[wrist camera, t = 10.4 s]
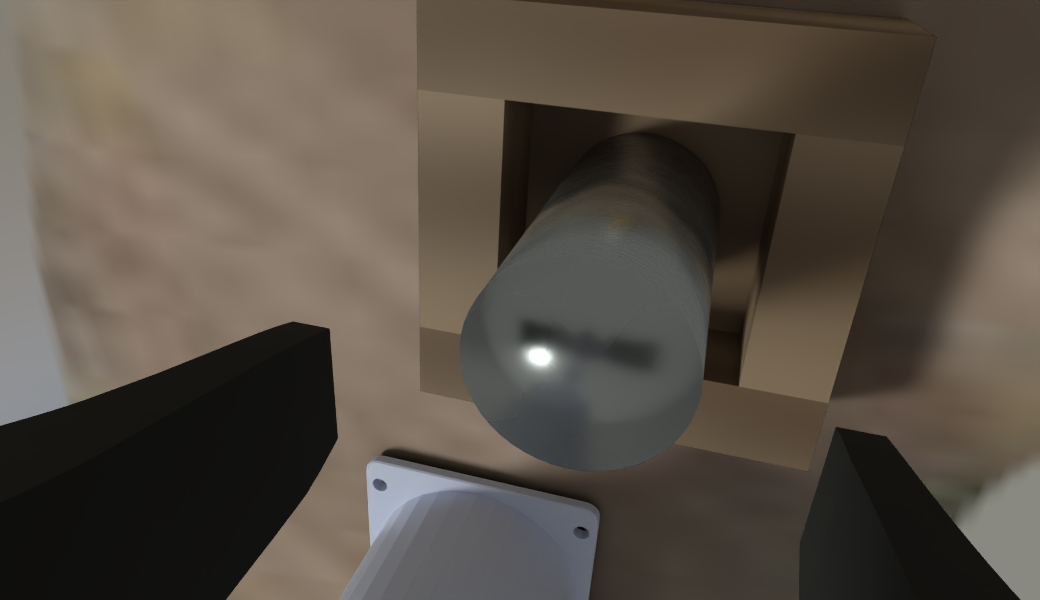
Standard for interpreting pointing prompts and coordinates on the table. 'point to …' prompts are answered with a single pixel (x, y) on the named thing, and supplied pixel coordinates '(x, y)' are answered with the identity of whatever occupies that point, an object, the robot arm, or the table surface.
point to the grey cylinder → (601, 310)
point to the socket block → (707, 133)
